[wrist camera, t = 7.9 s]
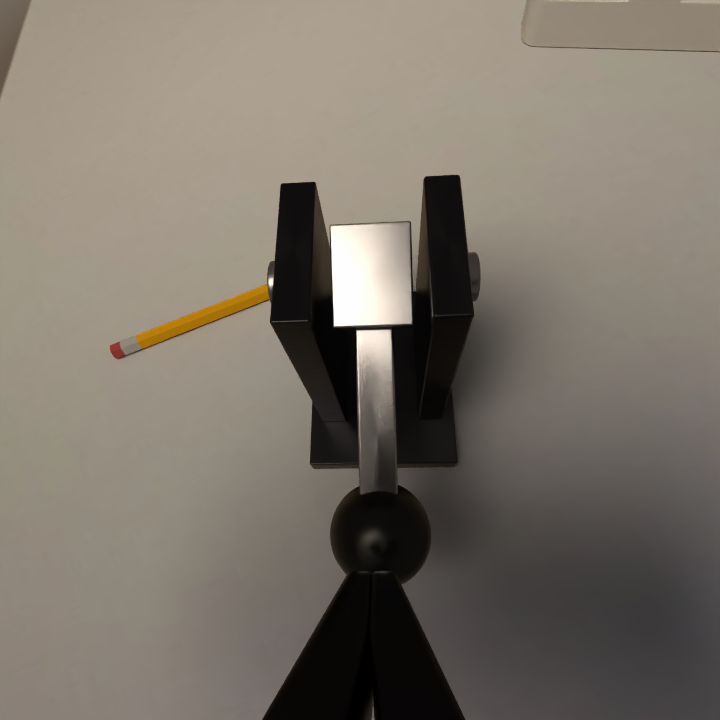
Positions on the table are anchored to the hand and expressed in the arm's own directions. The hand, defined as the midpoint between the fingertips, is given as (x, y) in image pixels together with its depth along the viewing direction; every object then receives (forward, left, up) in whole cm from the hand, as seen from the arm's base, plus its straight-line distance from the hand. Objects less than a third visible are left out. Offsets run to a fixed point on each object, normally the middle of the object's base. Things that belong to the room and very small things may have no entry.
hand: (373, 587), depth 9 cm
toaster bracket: (+8, +2, -11) cm, 14 cm away
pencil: (+10, +9, -11) cm, 18 cm away
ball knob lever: (+5, +1, -5) cm, 8 cm away
